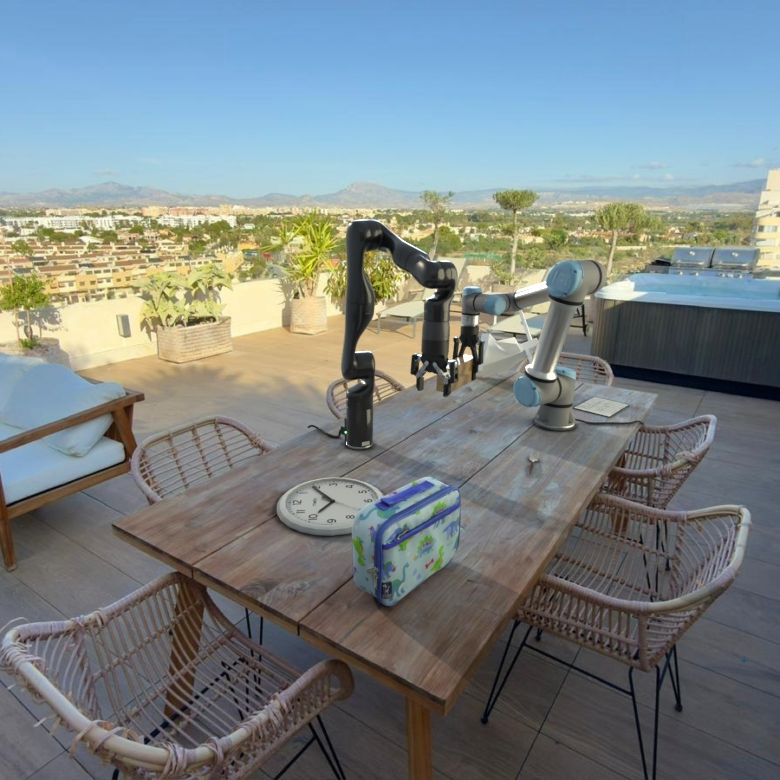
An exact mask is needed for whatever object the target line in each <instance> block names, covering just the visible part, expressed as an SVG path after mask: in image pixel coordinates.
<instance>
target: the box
mask: <svg viewBox="0 0 780 780" xmlns="http://www.w3.org/2000/svg"><path fill="white" fill-rule="evenodd" d="M455 360H457V361H458V381H457V382H455V383H452V384H451V393H453V392H455V391H456V390H458V389H461V388H462V387H464V386H466V385H468V384H469V383H471V382H473V381H472V380H471V378H472V365H474V361H473V357H472V354H471V355H470V354H463V356H460V357H458V358H456V359H451V360H450V361H455ZM447 369H448V371H449V372H450V368H449V365H447ZM443 373H444V371H443ZM444 384H445V383H444V381H443V379H442V378H441V377H440V376H439V374H436V390H435V391H436V392H439V393H443V387H444Z"/></svg>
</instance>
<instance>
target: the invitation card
mask: <svg viewBox="0 0 780 780" xmlns="http://www.w3.org/2000/svg"><path fill="white" fill-rule="evenodd" d="M628 406H629V404H627V403H623V402H618V401H614V400H609V399H605V398H601V397H596V396H593V397H592V398H590V399H588V400H586V401H584V402H582V403H580V404H578V405H575V406H574V407H573V409H575V410H581V411H584V412H587V413H593V414H596V415H600V416H604V417H608V418H609V417H611V416H613V415H614V414H616V413H617V412H619V411H621V410H623V409H624V408H626V407H628Z"/></svg>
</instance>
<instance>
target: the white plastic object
mask: <svg viewBox="0 0 780 780" xmlns="http://www.w3.org/2000/svg"><path fill="white" fill-rule="evenodd" d="M518 314H519V318H520V319H521V323H522V326H523V328H524V329H523V330H524V332H525V335H526V338H527V341H524V342H522V343H521V342H519V341H517V338H516V337H515V336H513V337H508V338H504V339H499V340H496V339H495V338H494V336H493V335H492V334H491V333H490V332H489V333H487V332H486V333H481V336H480V337H481V338H480V340H481V341H485V344H484V351H483V364H481V365H479V366H478V372H477V373H476V377H483V376H491V375H492V376H493V375H498V376H501V375H504V374H507V373H508V372H509V370H510V369H512V368H513V367H514V366H516V365H518V364H519V363H520V362H521V361H523V360H525V359H526V357H527V360H528V363H529V364H531V363H532V360H533V355H532V354H534V353H535V350H536V347H537V344H538V341H539V338H537V337H535V338H533V337H532V334H531V331H530V328H529V325H528V322H527V319H526V316H525V313H524V312H523V309H522V310H519V311H518Z"/></svg>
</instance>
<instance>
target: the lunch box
mask: <svg viewBox="0 0 780 780" xmlns="http://www.w3.org/2000/svg"><path fill="white" fill-rule="evenodd" d="M461 499H462V497H461V491H460V489H459V488H458V487H457V486H455V485H450V486H449V485H447V484H445V483H444V482H442V481H440V480H438V479H436V478H434V477H432V476H424V477H421V478H419V479H416V480H414V481H412V482H410V483H407V484H405V485H404V486H401V487H399V488H397V489H395V490H392V491H391V492H390V493H386V494H384V496H383V497H381V498H379V499H377V500H375V501H373V502H371V503H369V504H367V505H365V506H364V507H362V508H361V509H360V510H359V512H358V513H357V515H356V516H355V518H354V521H353V526H352V533H351V550H352V576H353V581H354V584H355V587H356V588H358V589H360V590H362V591H364V592H366V593H368V594H370V596H372V597H374V598H375V599H377V601H378V603H379V604H382V605H383V606H385V607H393V606H394V605H396V604H397V603H399V602H400V601H402V599H404V598H405V597H406V596H407V595H409V594H410V593H411V592H413V591H414V590H415V589H416V588H418V587H419V586H420V585H422V584H423V583H424V582H425V581H427V580H428V579H429V578H430V577H432V575H434V574H435V573H437V572H439V571H441V570H442V569H443V568H445V567H446V566H448V565H449V564H450V562H452V560H453V559H454V557H455V555H456V553H457V551H458V549H459V544H460V537H461V519H462V515H461V513H462V512H461V510H462V507H461V505H462V504H461V503H462V502H461Z"/></svg>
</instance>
